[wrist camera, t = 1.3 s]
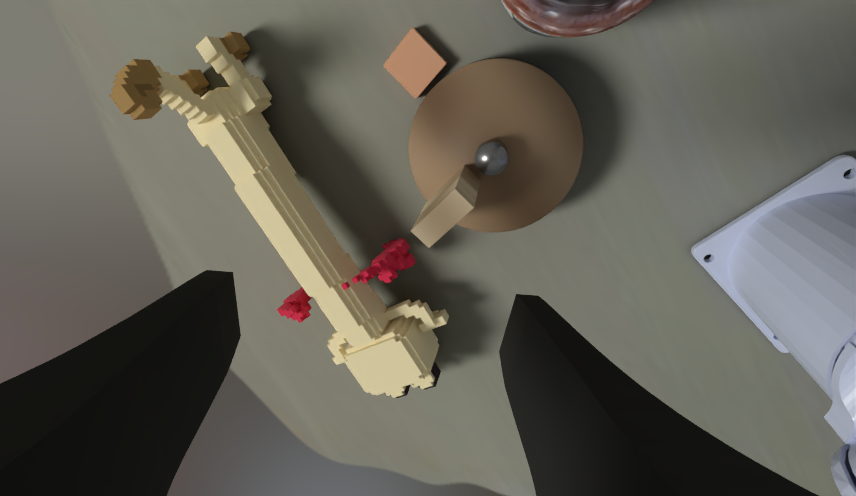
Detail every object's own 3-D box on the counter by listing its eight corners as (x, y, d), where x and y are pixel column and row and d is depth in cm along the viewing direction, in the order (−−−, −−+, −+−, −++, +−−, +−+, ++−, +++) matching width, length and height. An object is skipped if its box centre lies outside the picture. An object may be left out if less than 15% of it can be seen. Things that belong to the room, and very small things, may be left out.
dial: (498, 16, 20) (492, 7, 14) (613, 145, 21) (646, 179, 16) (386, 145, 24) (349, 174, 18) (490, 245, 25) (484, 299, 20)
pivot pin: (514, 155, 20) (514, 159, 19) (491, 177, 21) (490, 181, 20) (492, 132, 20) (491, 135, 19) (469, 155, 21) (467, 159, 20)
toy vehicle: (180, 105, 27) (377, 390, 33) (36, 117, 19) (328, 489, 25) (285, 14, 23) (487, 354, 29) (159, -18, 15) (470, 457, 21)
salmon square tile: (447, 62, 21) (446, 63, 21) (418, 97, 22) (415, 98, 22) (414, 27, 21) (412, 27, 20) (385, 64, 22) (382, 65, 21)
